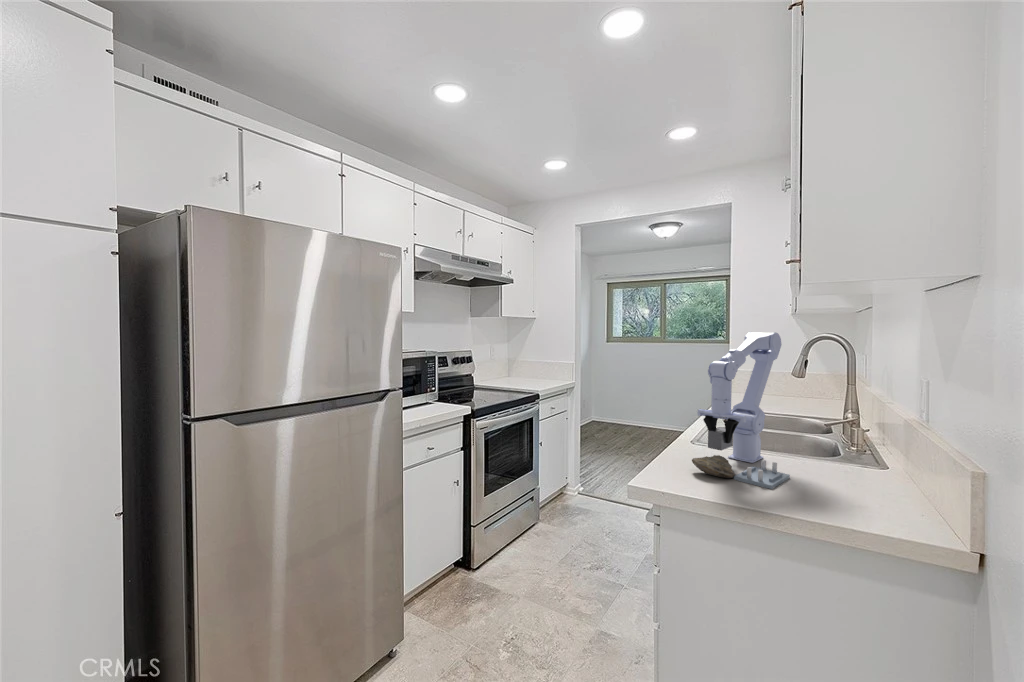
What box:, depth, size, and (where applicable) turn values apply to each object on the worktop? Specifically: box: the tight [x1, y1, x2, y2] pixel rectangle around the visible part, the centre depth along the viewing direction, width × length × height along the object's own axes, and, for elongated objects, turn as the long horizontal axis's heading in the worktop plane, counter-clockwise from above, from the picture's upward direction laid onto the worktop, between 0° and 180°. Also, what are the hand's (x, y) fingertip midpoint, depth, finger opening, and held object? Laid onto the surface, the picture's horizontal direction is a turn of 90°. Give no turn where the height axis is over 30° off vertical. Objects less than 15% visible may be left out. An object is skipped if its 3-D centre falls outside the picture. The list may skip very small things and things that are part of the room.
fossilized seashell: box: [691, 454, 736, 479], centre depth 133 cm, size 11×11×7 cm
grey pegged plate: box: [733, 459, 791, 490], centre depth 129 cm, size 14×10×4 cm
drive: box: [707, 426, 733, 451], centre depth 141 cm, size 8×4×6 cm, turn 131°
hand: (720, 441), depth 141 cm, fingers closed on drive, 4 cm apart
